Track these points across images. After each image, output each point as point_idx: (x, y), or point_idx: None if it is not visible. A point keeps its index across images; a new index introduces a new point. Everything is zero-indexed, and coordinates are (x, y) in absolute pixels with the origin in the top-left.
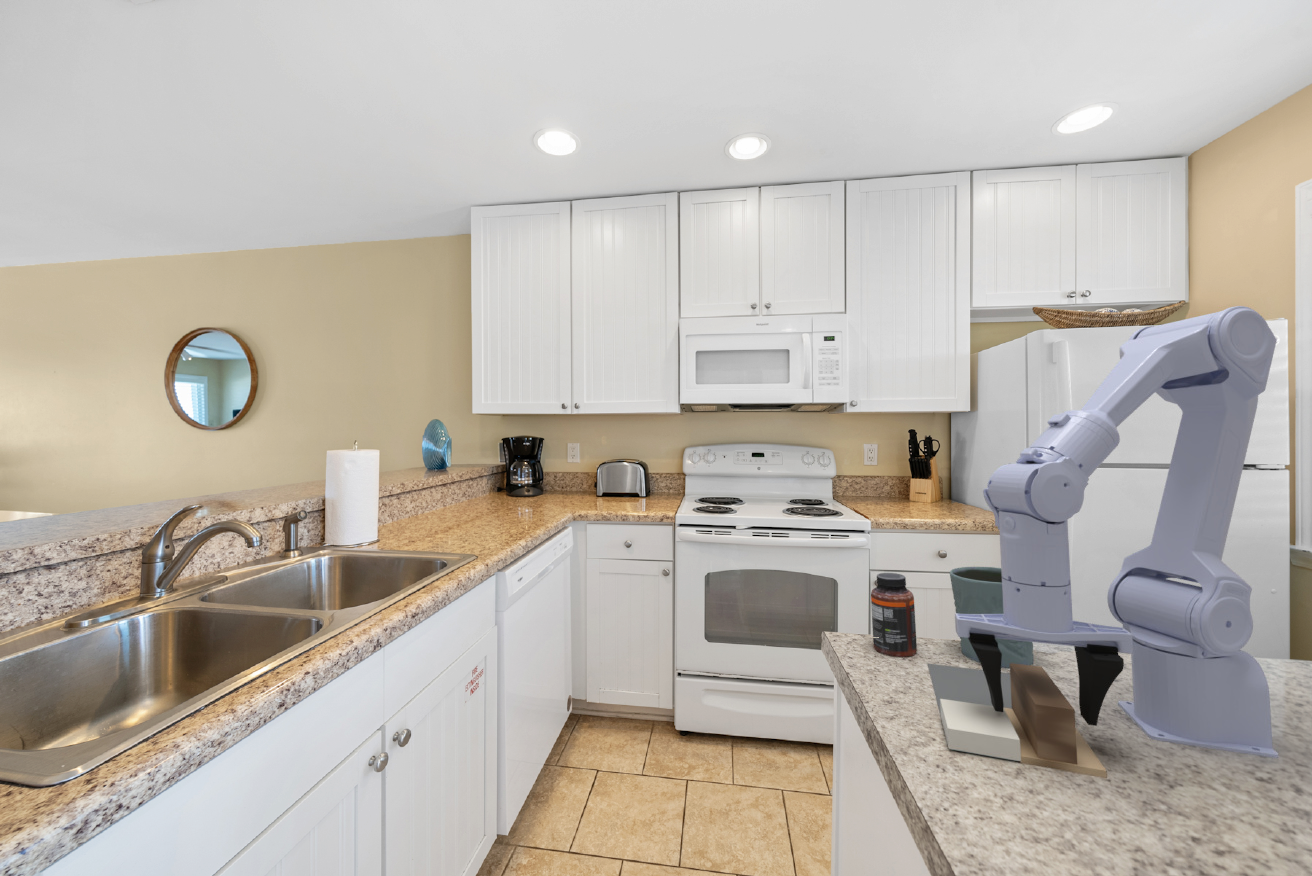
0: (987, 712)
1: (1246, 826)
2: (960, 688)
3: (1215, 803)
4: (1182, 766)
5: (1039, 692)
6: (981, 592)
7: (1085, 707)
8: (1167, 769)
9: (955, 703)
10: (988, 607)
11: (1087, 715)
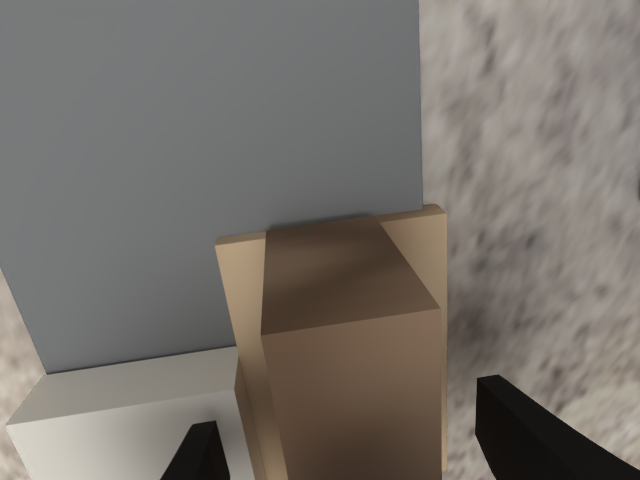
0: None
1: None
2: (50, 59)
3: (608, 427)
4: (636, 310)
5: None
6: None
7: (501, 454)
8: (592, 340)
9: (68, 434)
10: None
11: (489, 453)
